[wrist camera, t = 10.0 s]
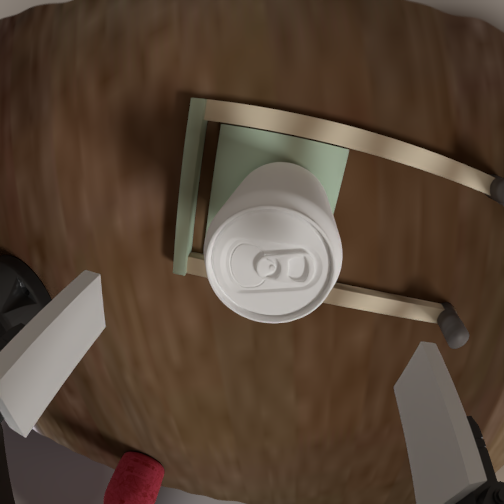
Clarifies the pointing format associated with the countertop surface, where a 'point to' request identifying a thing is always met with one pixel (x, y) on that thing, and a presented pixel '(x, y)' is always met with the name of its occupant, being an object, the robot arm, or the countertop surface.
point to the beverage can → (274, 245)
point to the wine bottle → (135, 480)
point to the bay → (324, 169)
